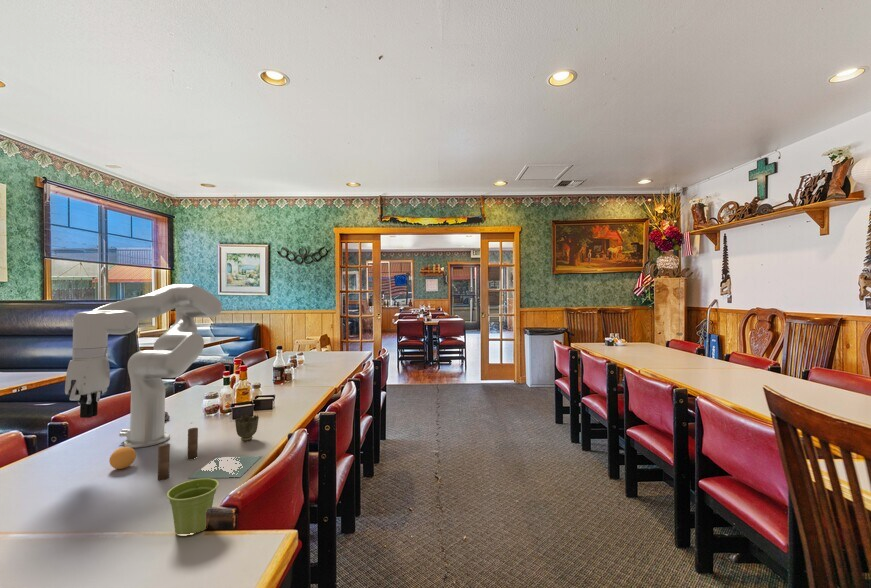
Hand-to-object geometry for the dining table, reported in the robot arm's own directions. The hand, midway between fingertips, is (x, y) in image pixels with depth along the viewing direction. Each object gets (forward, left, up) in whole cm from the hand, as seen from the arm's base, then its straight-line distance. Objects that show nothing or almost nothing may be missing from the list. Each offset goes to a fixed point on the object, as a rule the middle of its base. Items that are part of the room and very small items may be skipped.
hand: (88, 416), depth 109 cm
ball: (+10, 0, -12) cm, 16 cm away
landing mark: (+40, 0, -15) cm, 43 cm away
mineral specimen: (-11, +43, -16) cm, 47 cm away
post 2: (+26, +6, -15) cm, 31 cm away
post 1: (+26, -7, -15) cm, 31 cm away
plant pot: (+48, -30, -15) cm, 59 cm away
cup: (+36, +21, -15) cm, 44 cm away
